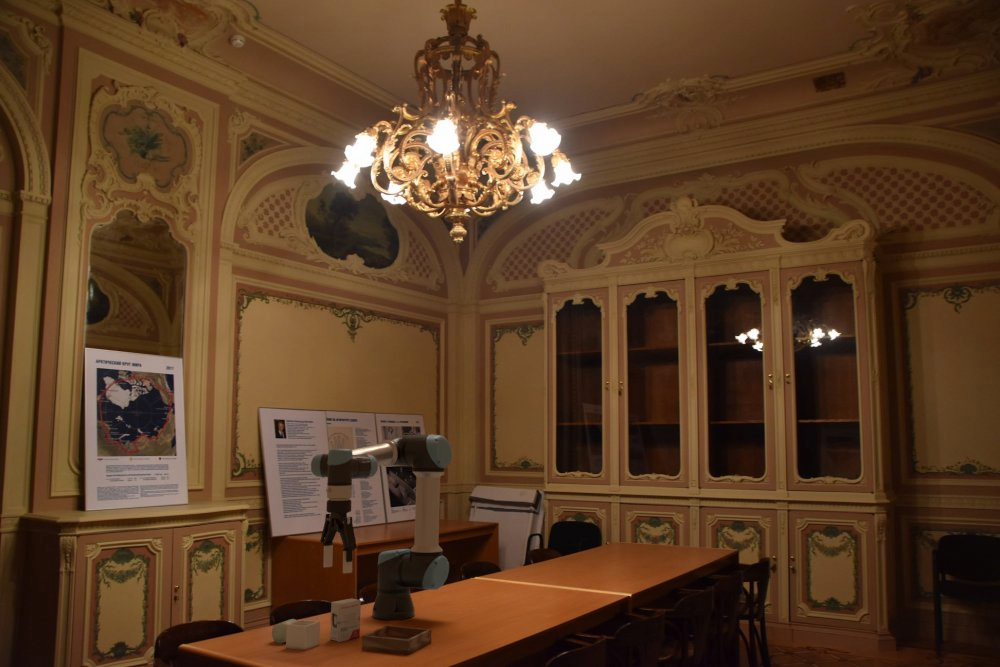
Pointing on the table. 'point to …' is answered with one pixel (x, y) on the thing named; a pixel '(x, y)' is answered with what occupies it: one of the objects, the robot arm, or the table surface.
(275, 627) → the toppled green cylinder
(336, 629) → the ink box
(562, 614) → the table surface
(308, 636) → the small grey bin
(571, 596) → the table surface
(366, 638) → the crate
